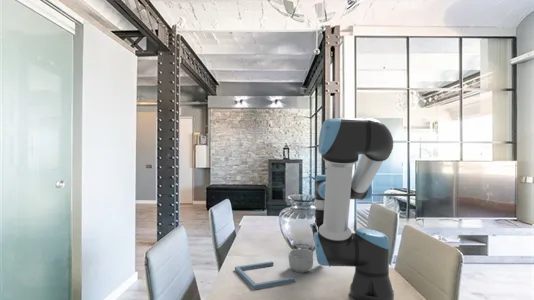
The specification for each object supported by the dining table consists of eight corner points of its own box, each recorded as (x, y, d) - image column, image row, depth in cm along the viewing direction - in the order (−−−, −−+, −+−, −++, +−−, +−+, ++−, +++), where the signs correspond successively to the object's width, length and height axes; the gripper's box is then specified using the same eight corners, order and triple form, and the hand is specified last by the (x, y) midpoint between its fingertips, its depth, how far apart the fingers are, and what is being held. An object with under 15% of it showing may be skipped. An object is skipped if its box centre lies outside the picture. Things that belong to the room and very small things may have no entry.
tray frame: (295, 282, 126) (295, 278, 126) (253, 289, 119) (253, 285, 119) (272, 264, 146) (272, 261, 146) (234, 270, 138) (234, 266, 138)
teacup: (312, 275, 133) (312, 256, 133) (286, 273, 135) (286, 254, 135) (314, 264, 147) (314, 247, 147) (290, 262, 149) (290, 245, 149)
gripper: (330, 206, 152) (329, 255, 152) (306, 208, 147) (306, 259, 147) (339, 209, 145) (339, 260, 145) (315, 210, 140) (315, 264, 140)
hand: (322, 259), depth 146 cm, fingers closed
